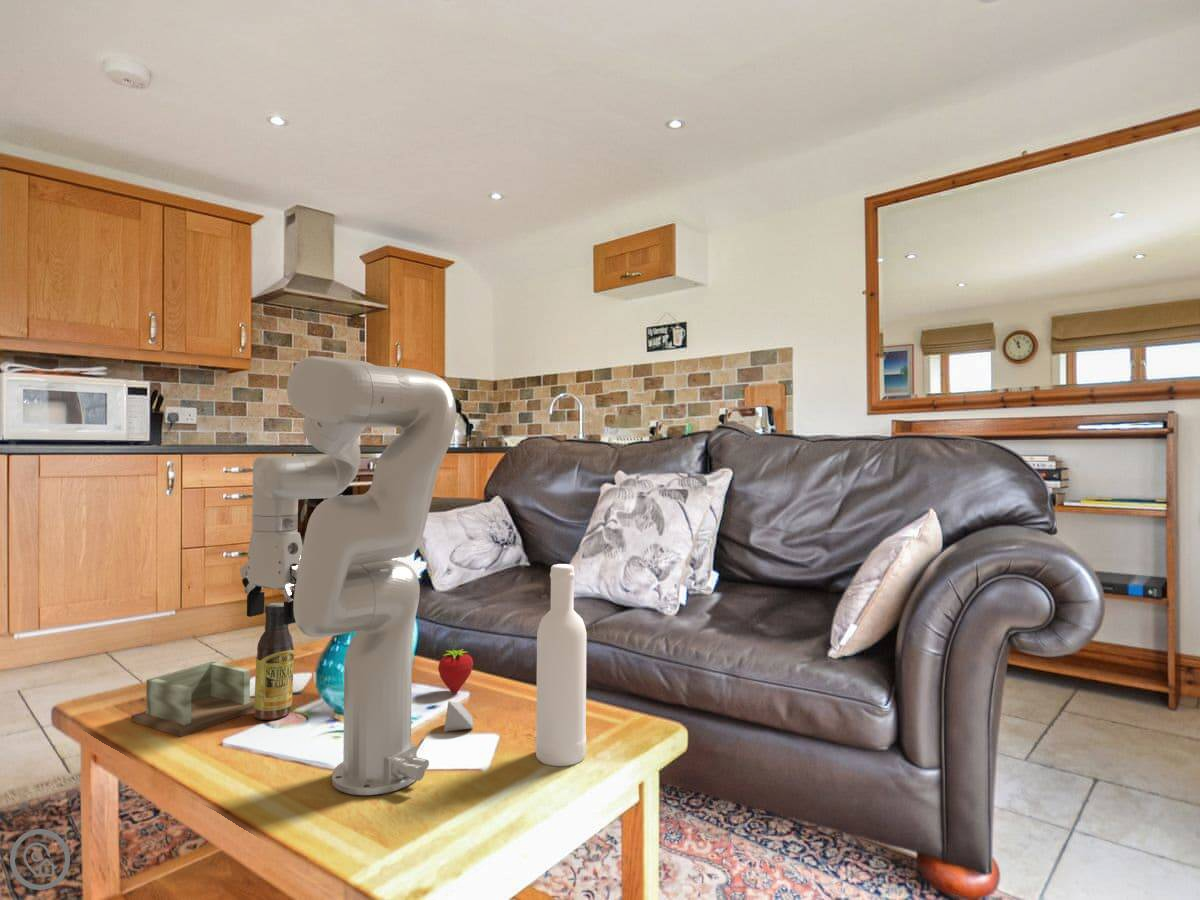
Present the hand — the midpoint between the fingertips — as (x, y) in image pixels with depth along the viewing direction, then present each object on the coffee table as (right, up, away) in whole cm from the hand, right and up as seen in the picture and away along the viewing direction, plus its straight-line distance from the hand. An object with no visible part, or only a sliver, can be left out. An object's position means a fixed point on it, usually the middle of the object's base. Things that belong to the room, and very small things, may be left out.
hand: (273, 618), depth 130 cm
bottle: (+53, -18, -17) cm, 58 cm away
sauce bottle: (0, -17, 0) cm, 17 cm away
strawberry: (+30, -18, +12) cm, 37 cm away
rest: (-13, -17, 0) cm, 22 cm away
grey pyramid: (+35, -18, -6) cm, 39 cm away
